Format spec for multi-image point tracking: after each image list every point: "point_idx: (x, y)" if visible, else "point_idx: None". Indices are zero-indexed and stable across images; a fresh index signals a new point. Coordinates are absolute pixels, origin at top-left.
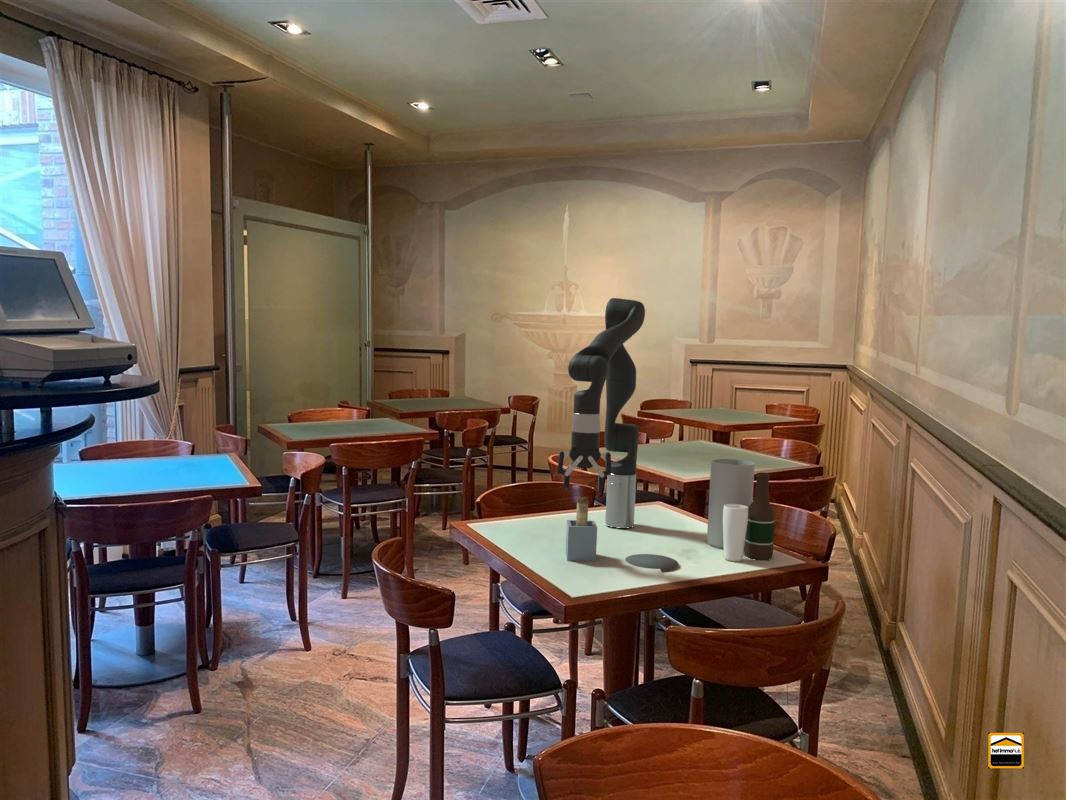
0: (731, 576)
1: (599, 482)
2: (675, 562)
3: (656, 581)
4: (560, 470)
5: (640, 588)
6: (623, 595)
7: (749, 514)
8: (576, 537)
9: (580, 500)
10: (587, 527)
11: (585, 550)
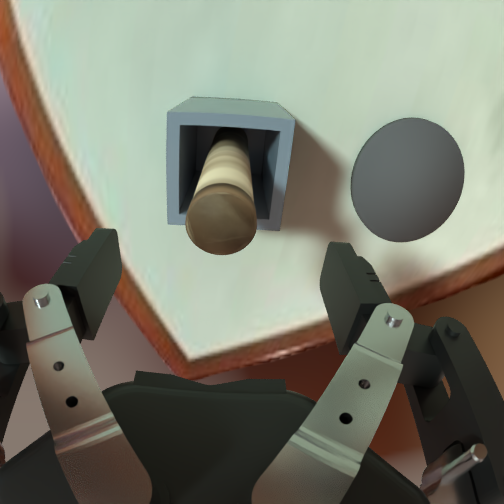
0: (492, 260)
1: (335, 326)
2: (455, 197)
3: None
4: (14, 365)
5: (317, 326)
6: (275, 353)
7: None
8: None
9: (204, 248)
10: None
11: None
